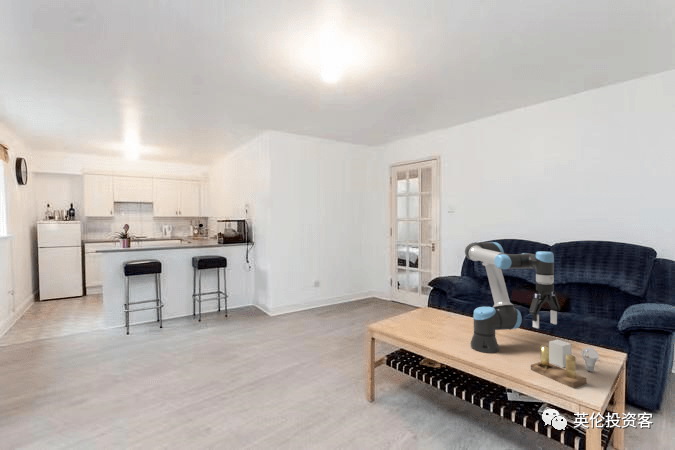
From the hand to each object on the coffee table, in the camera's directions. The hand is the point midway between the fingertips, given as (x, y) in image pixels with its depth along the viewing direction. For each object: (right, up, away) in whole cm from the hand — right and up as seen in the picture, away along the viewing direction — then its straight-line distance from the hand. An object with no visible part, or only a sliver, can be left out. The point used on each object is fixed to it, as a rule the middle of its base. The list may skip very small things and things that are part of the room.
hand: (544, 325), depth 162 cm
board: (+3, -23, -5) cm, 23 cm away
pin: (0, -23, 0) cm, 23 cm away
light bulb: (+22, -23, -1) cm, 31 cm away
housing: (+13, -22, +8) cm, 27 cm away
